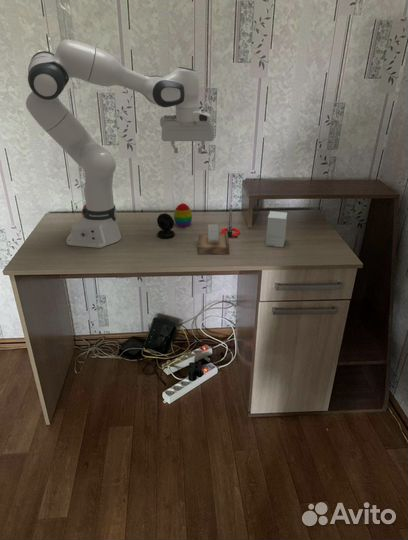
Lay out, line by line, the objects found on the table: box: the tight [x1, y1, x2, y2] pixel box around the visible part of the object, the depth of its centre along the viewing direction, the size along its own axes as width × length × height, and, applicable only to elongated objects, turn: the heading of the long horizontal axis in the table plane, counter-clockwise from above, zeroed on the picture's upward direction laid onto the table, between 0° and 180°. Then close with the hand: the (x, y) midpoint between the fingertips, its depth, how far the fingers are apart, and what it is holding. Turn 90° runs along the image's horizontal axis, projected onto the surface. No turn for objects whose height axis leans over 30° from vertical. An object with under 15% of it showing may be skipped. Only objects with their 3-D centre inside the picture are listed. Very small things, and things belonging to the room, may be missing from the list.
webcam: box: [156, 212, 176, 240], centre depth 173 cm, size 8×8×10 cm
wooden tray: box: [198, 231, 230, 255], centre depth 164 cm, size 12×12×4 cm
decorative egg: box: [173, 203, 193, 228], centre depth 183 cm, size 8×8×10 cm
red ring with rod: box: [220, 207, 241, 238], centre depth 175 cm, size 8×13×9 cm
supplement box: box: [265, 210, 288, 248], centre depth 166 cm, size 7×7×13 cm
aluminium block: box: [207, 223, 220, 244], centre depth 162 cm, size 4×6×6 cm
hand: (188, 152), depth 159 cm, fingers open, 8 cm apart
